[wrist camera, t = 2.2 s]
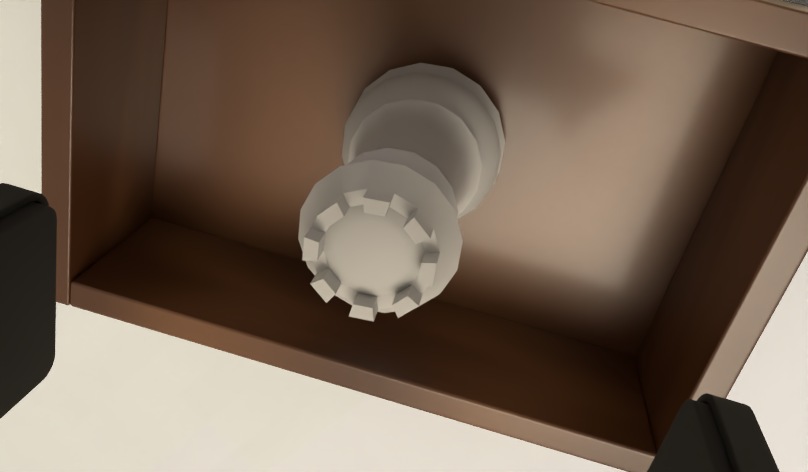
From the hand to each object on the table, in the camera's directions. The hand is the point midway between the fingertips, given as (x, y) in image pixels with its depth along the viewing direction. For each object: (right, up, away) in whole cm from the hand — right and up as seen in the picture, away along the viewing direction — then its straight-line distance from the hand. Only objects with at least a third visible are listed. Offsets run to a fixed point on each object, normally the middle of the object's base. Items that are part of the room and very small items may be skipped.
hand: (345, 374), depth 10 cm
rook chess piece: (+2, +5, +10) cm, 11 cm away
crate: (+2, +5, +10) cm, 12 cm away
